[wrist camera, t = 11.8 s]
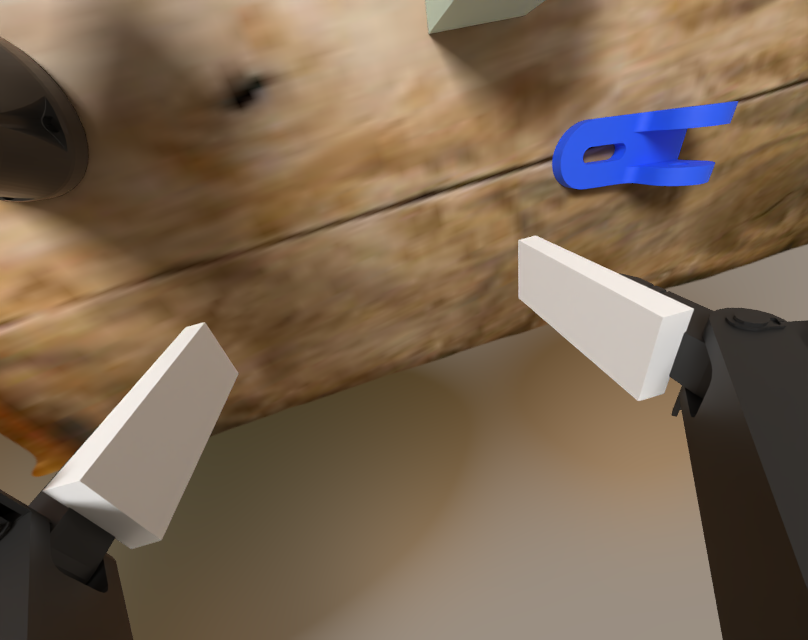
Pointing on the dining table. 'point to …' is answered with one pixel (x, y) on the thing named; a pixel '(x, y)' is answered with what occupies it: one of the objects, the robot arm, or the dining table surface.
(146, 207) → the dining table surface
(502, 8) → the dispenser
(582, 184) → the bracket
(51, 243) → the dining table surface
